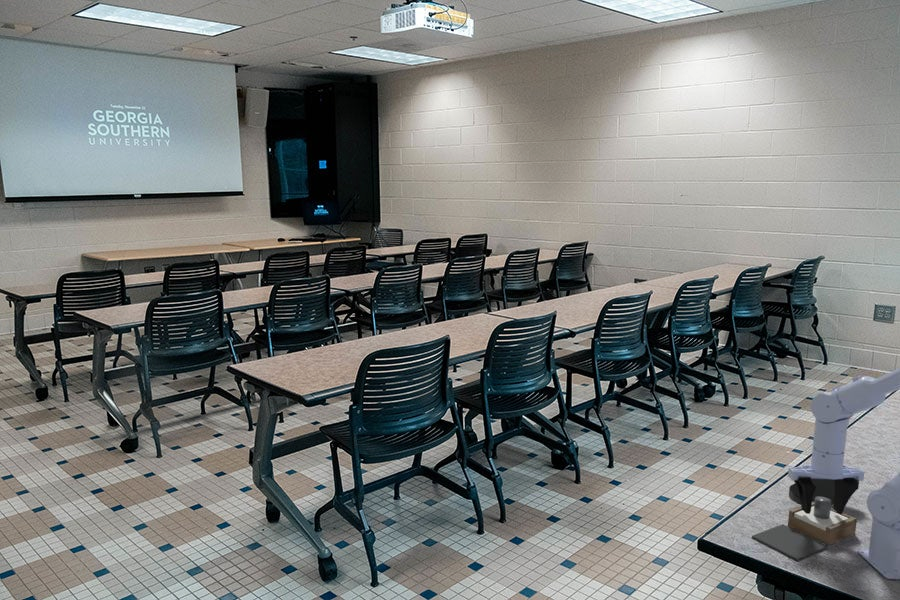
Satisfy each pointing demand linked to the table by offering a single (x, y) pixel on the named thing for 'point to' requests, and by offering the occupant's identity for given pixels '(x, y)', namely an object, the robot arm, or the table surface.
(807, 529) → the walnut case
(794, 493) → the black sponge
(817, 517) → the cover plate
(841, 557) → the table surface
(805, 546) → the rubber mat
